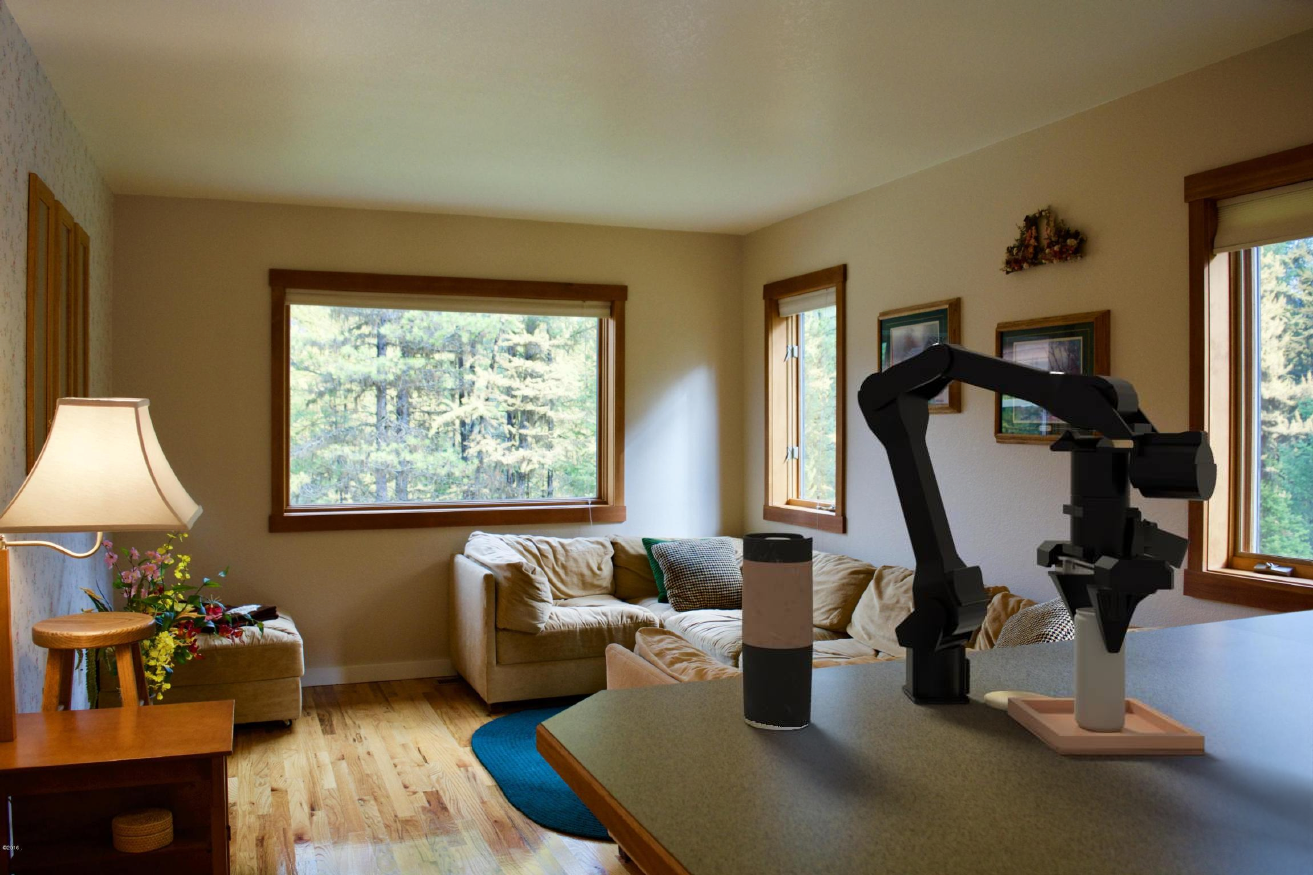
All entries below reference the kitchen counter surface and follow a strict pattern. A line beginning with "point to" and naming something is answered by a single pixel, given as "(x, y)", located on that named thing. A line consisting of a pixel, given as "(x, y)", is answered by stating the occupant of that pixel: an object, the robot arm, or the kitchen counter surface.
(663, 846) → the kitchen counter surface
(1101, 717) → the beverage can
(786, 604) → the travel mug
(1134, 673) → the kitchen counter surface
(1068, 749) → the tray
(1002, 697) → the cork coaster
